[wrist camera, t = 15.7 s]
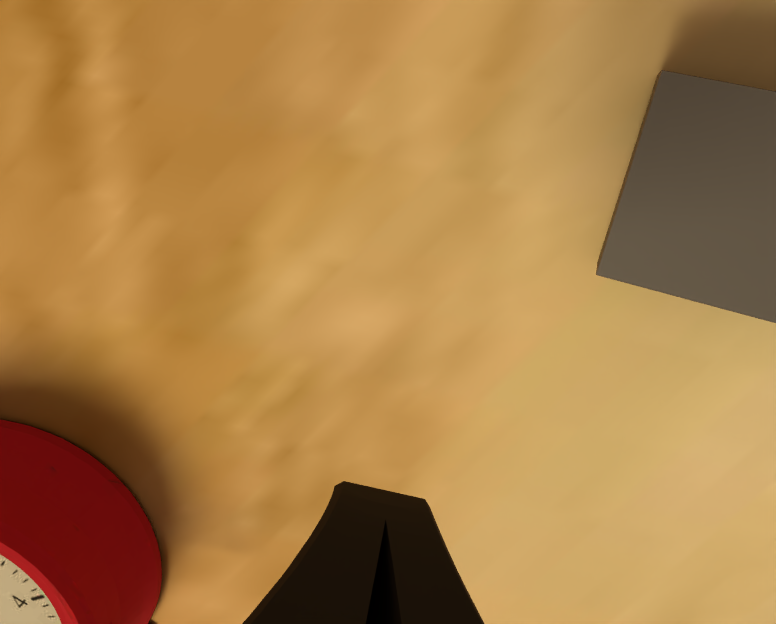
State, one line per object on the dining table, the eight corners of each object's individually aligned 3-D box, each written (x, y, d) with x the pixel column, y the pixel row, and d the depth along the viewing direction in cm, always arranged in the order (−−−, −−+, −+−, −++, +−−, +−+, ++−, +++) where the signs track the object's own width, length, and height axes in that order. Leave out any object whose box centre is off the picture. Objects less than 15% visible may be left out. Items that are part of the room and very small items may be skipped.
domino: (657, 75, 16) (974, 136, 15) (597, 262, 18) (876, 336, 16) (662, 70, 15) (1015, 136, 13) (596, 274, 16) (902, 357, 15)
